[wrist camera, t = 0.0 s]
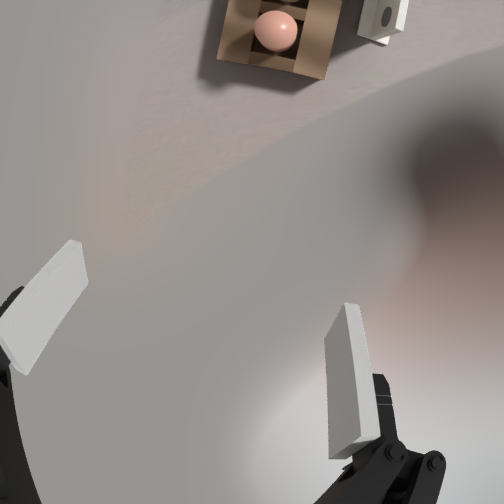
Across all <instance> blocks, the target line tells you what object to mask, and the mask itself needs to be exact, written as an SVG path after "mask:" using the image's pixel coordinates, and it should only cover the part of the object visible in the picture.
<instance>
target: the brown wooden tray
mask: <svg viewBox="0 0 504 504" xmlns="http://www.w3.org/2000/svg"><path fill="white" fill-rule="evenodd" d="M342 1H343V0H299V1H296V2H283V1H280V0H229V3H228V7H227V11H226V16H225V20H224V25H223V30H222V34H221V39H220V44H219V49H218V54H217V59H218V60H222V61H228V62H235V63H242V64H248V65H254V66H260V67H266V68H271V69H276V70H281V71H285V72H290V73H294V74H299V75H303V76H307V77H311V78H315V79H318V80H324V79H325V75H326V71H327V66H328V62H329V58H330V54H331V50H332V45H333V41H334V37H335V32H336V28H337V24H338V19H339V15H340V10H341V6H342ZM269 11H281V12H285V13H287V14H288V15H290V16H291V17H292V18H293V19H294V20H295V22H296V24H297V35H296V40H295V42H294V44H293V46H292V47H291V48H289V49H288V50H286V51H282V52H274V51H270V50H268V49H266V48H265V47H264V46H263V45H262V44H261V42H260V41H259V40H258V38H257V37H256V35H255V31H254V26H255V22H256V20H257V19H258V18H259V17H260V16H261V15H262V14H264V13H266V12H269Z"/></svg>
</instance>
